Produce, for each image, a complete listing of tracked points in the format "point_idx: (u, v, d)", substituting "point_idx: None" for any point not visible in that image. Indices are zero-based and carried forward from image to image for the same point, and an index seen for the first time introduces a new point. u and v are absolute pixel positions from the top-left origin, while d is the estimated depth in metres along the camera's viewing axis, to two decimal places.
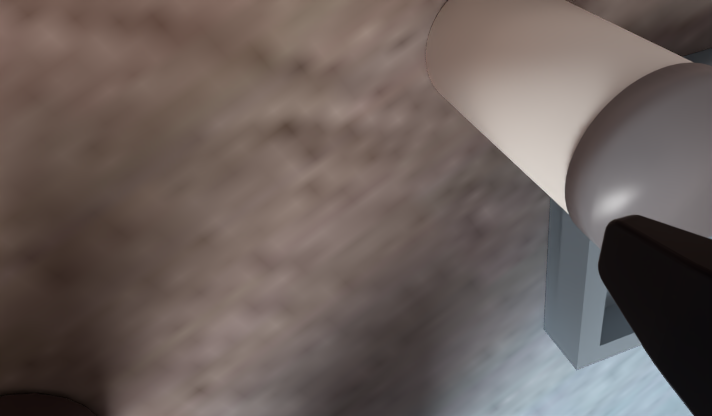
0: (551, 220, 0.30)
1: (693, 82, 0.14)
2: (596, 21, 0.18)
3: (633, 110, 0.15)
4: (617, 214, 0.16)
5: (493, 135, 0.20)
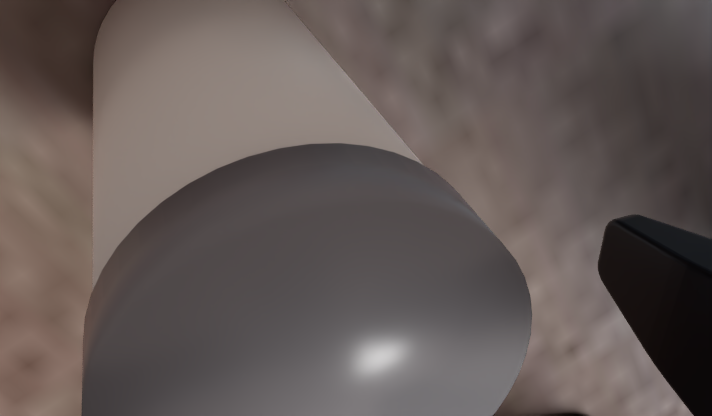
0: None
1: None
2: None
3: None
4: None
5: None
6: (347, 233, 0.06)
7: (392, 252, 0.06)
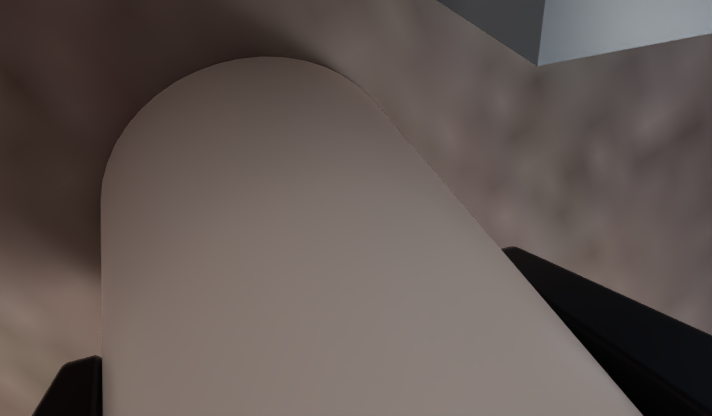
0: None
1: None
2: None
3: None
4: None
5: None
6: None
7: None
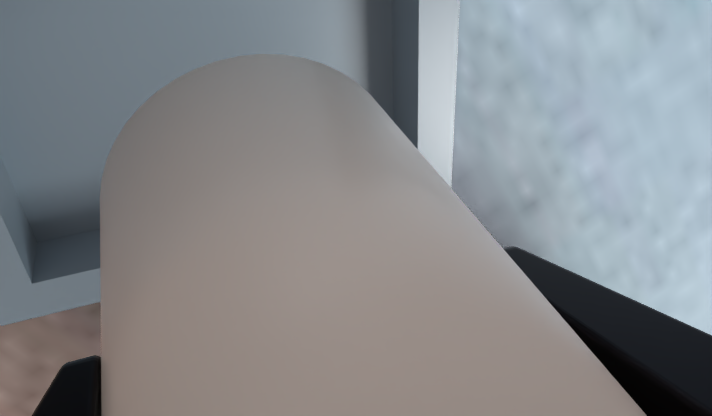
0: None
1: None
2: None
3: None
4: None
5: None
6: None
7: None
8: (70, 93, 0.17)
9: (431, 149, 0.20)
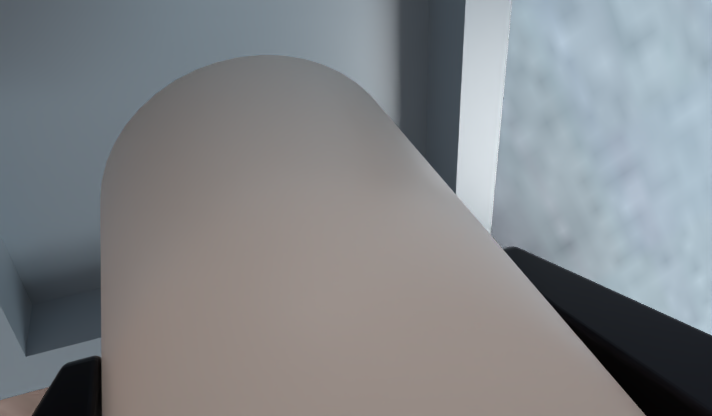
0: None
1: None
2: None
3: None
4: None
5: None
6: None
7: None
8: (69, 144, 0.15)
9: (470, 200, 0.18)
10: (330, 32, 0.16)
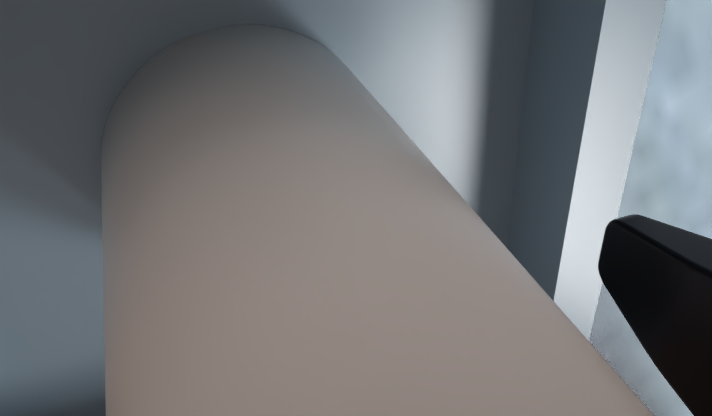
0: None
1: None
2: None
3: None
4: None
5: None
6: None
7: None
8: (63, 261, 0.12)
9: (569, 311, 0.14)
10: (402, 111, 0.12)
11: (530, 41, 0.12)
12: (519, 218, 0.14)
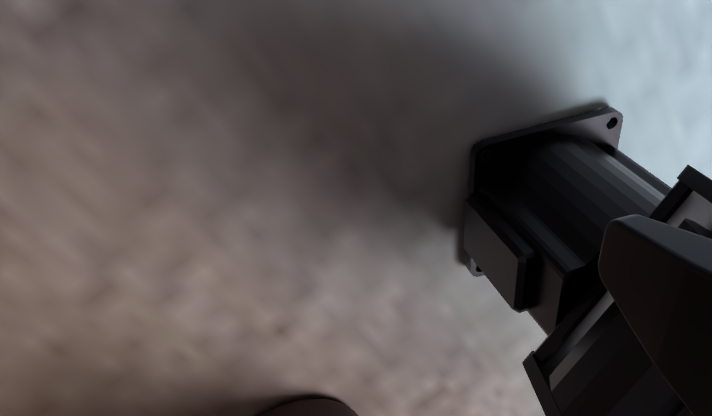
0: None
1: None
2: None
3: None
4: None
5: None
6: None
7: None
8: None
9: None
10: None
11: None
12: None
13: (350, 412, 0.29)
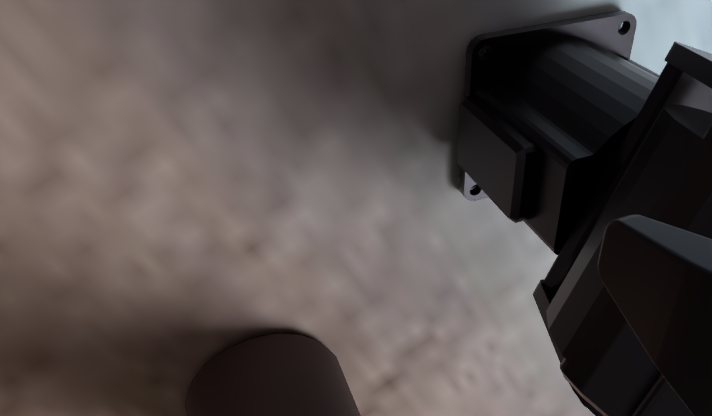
0: None
1: None
2: None
3: None
4: None
5: None
6: None
7: None
8: None
9: None
10: None
11: None
12: None
13: (328, 352, 0.27)
